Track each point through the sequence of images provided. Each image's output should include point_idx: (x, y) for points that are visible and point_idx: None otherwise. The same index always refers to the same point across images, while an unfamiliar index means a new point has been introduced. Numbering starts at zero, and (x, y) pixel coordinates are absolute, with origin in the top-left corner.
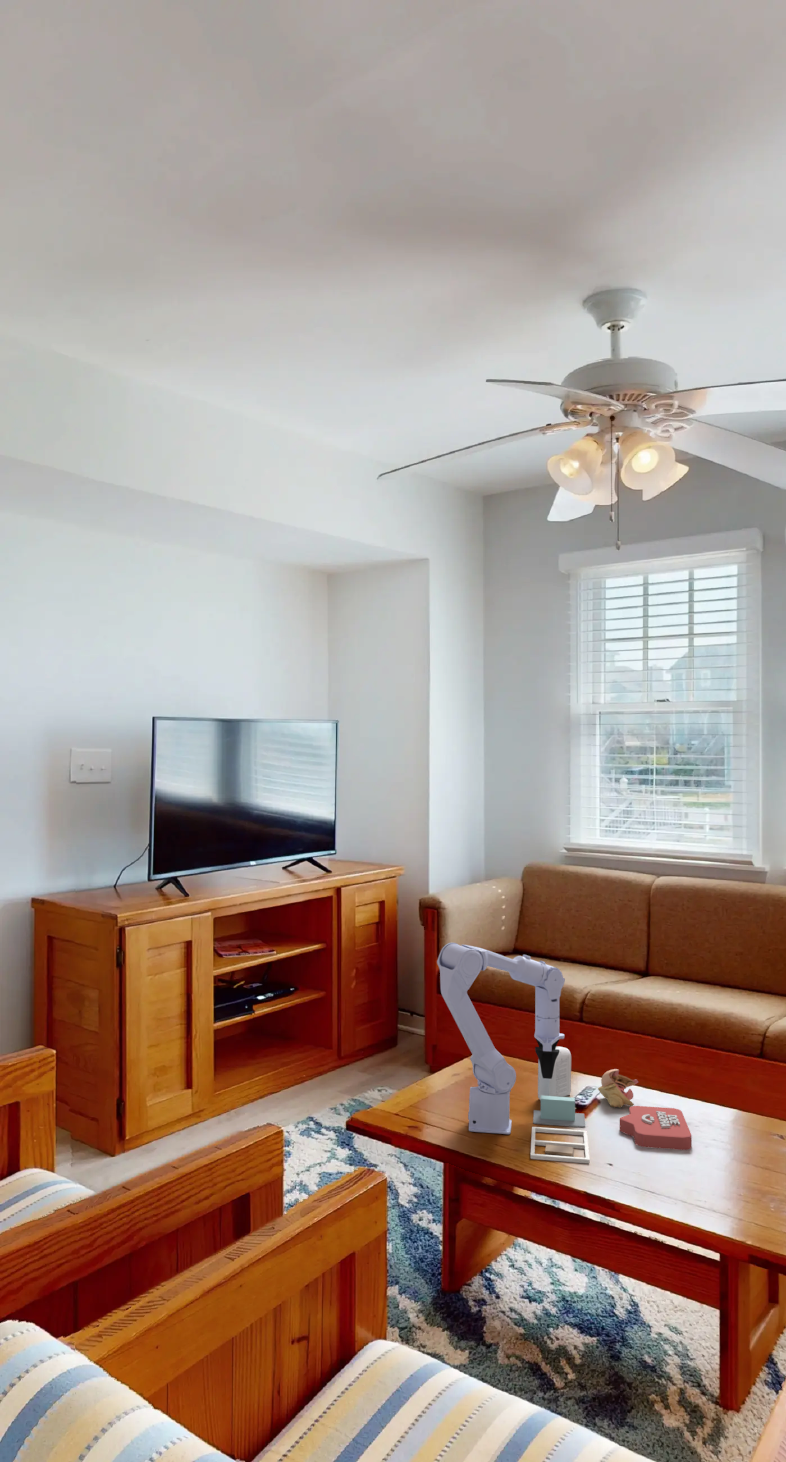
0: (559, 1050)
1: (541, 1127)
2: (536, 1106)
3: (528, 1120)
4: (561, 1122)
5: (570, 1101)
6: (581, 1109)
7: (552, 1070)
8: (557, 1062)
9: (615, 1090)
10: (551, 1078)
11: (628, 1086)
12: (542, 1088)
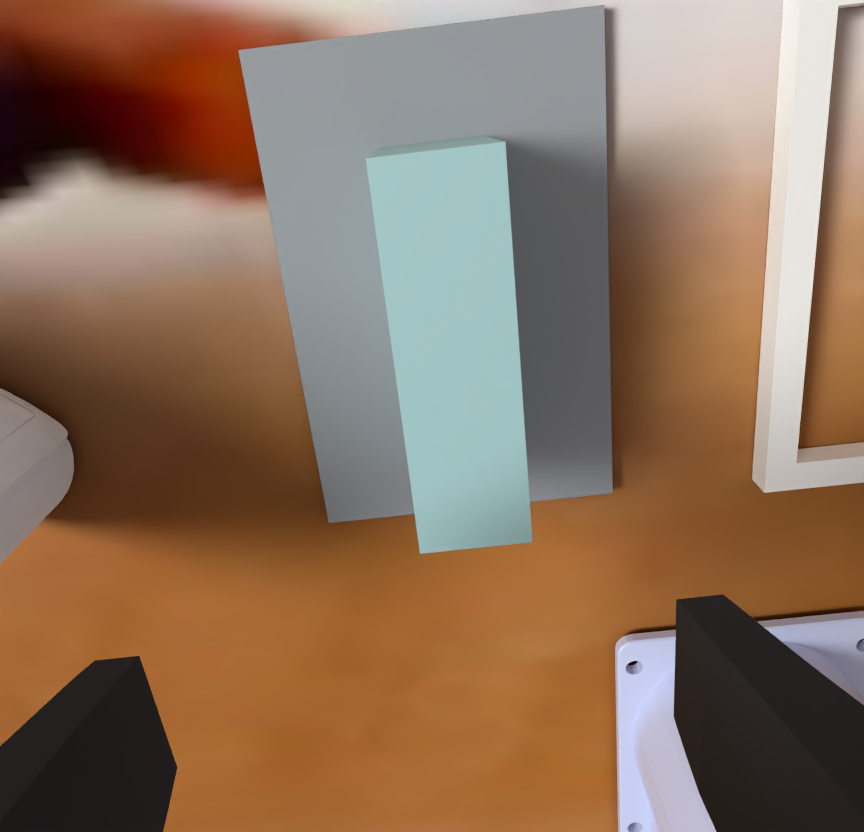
0: None
1: (771, 420)
2: (200, 512)
3: (540, 529)
4: (555, 264)
5: (508, 204)
6: (84, 97)
7: (847, 700)
8: None
9: None
10: (725, 598)
11: None
12: (10, 547)
